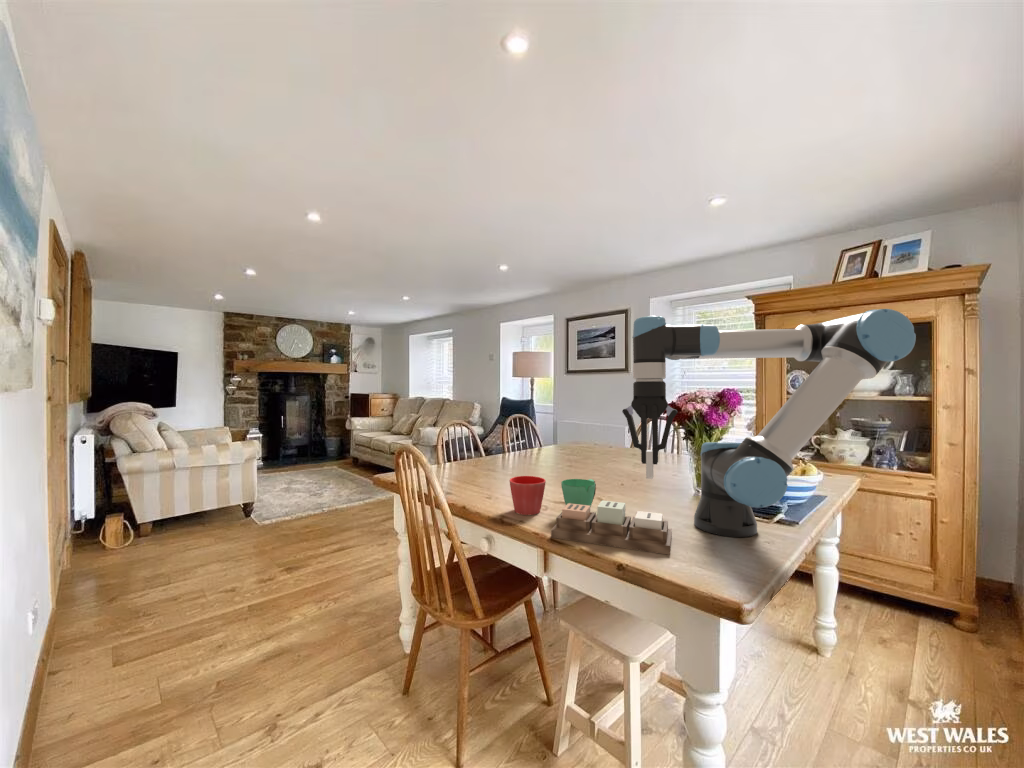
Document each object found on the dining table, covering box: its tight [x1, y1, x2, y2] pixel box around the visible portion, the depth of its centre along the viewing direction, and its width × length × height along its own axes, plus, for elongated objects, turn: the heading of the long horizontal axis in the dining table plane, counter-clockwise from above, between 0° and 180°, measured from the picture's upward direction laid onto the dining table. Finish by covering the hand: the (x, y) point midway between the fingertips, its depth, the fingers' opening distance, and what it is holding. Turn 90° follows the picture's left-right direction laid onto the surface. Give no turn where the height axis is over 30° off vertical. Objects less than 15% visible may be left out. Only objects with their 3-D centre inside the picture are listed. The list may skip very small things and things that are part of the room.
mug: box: [560, 478, 597, 509], centre depth 124 cm, size 15×10×10 cm
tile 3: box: [561, 503, 591, 521], centre depth 109 cm, size 6×6×4 cm
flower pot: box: [509, 475, 547, 516], centre depth 127 cm, size 11×11×10 cm
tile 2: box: [596, 500, 626, 525], centre depth 106 cm, size 6×6×4 cm
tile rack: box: [550, 511, 673, 556], centre depth 106 cm, size 28×12×4 cm, turn 68°
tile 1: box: [634, 510, 664, 530], centre depth 103 cm, size 6×6×4 cm
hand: (649, 477), depth 102 cm, fingers closed
